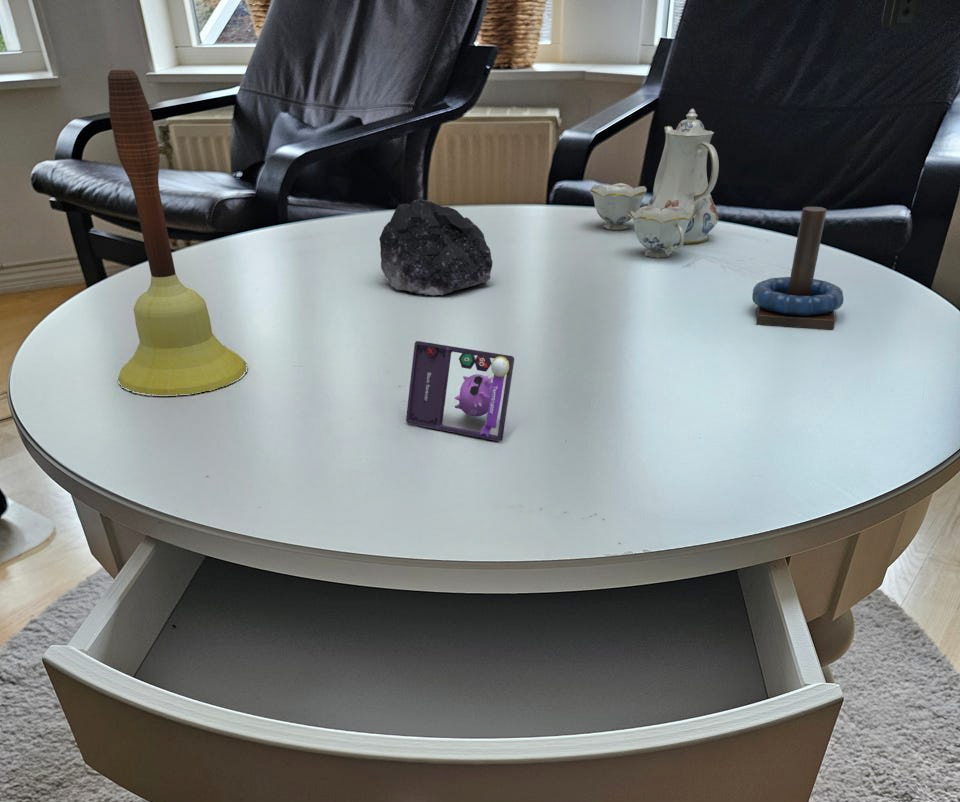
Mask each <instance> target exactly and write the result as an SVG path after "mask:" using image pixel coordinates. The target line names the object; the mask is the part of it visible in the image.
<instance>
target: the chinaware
mask: <svg viewBox="0 0 960 802" xmlns="http://www.w3.org/2000/svg"><path fill="white" fill-rule="evenodd" d="M685 117H686V119H683V120H681V121H680V122H679V123H678V125H677V126H676V129H673V127H672V126H671V125H667V126H664V133H665V141H664V147H663V151H662V154H661V157H660V160H659V164H658V168H657V171H656V174H655V179H654V184H653V189H652V190H653V191H652V196H651V198H650V199H649V201H648V203H647V204H646V205H644V206H641V205H642V202H643V199H644V198H645V196H646V194H647V191H648V188H647V187H646V186H645V185H641V186H640V185H639V186H637V187H633V186H631V185H630V184H627V183H623V182H619V183H613V184H612V185H610V186H604V185H602V184H594V185H593V186H592V187H591V189H590V190H589V193H590V194H591V195H592V198H593V202H594V203H593V204H594V207H595V210H596V213H597V215H598V216H599V217H600V218H601V219H602V221H604V222H606V223H607V224H604V225H603V228H605V229H607V230H620V231H622V230H625V229H628V228H629V225H626V223H627V222H629V221H631V220H632V222H633V229H634V233H635V236H636V238H637V240H638V242H639V243H640V244H641V246H643V247H644V248H646V249H647V250H646V251H645V254H644V255H645V257H651V258H657V259H659V258H666V257H667V258H668V257H670V256H671V254H672V251H674V252H679V251H680V250H682V248H683V245H694V244H700V243H703V242H706V241H707V240H708V238H709V237H708V234H709V233H710V232H711V231H712V230H713V229H714V228H715V227H716V225H717V224H718V222H719V218H720V217H719V213H718V210H717V207H716V204H715V202H714V199H713V198H712V195H711V192H712V191H713V190H714V188H715V186H716V185H717V180H718V177H719V170H720V169H719V168H720V167H719V166H720V164H719V161H720V160H719V156H718V152H717V150H716V148H715V147H714V145H713V144H711V140H712V137H713V135H714V134H715V131H712V130H707V129H705V126H704V124H703V122H702V121H701V120H700V119H697V117H698V114H697V113H696V110H695V109H694V108H690V110H689V111H688V113H687V114H686V115H685ZM708 154H709V155H710V160H711V174H710V178H709V182H708V175H707V172H708V171H707V162H708V161H707V160H708ZM677 245H678V247H677V248H676V247H675V246H677Z"/></svg>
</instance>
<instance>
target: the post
mask: <svg viewBox="0 0 960 802" xmlns="http://www.w3.org/2000/svg"><path fill="white" fill-rule="evenodd" d="M827 211H828V209H827V208H825V207H822V206H805V207H803V208H802V211H801V218H800V222H799V228H798V232H797V239H796V244H795V248H794V254H793V258H792V265H791V270H790V276H789V277H790V281H789V287H788V292H787V294H788V295H798V296H810V292H811V287H812V282H813V279H814V277H815V272H816V267H817V261H818V256H819V251H820V247H821V240H822V237H823V230H824V226H825V221H826V216H827ZM755 324H756V325H762V326H774V327H775V326H776V327H788V328H789V327H790V328H805V329H819V330H831V331H833V330H834V328H835V324H836V316H835V310H834V311H832V312H830V313H828V314H823V315H812V316H798V315H785V314H780V313H776V312H771V311H767V310H765V309H763V308H762V307H760V306H758V305H757V313H756V322H755Z"/></svg>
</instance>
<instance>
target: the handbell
mask: <svg viewBox="0 0 960 802" xmlns="http://www.w3.org/2000/svg"><path fill="white" fill-rule="evenodd" d="M107 87H108V110H109V111H108V112H109V121H110V124H111V130H112V134H113V140H114V144H115V148H116V153H117V157H118V160H119V162H120V164H121V166H122V169H123V170H124V173H125V175H126V176H127V178H128V181H129V183H130V185H131V189H132V193H133V196H134V201H135V207H136V211H137V215H138V220H139V225H140V229H141V234H142V239H143V243H144V249H145V253H146V257H147V258H146V259H147V262H148V267H149V272H150V285H149V287H148V289H147V291H145V292H143V293H141V294H140V295H139V296H138V297H137V299H136V301H135V304H134V307H133V314H134V320H135V327H136V331H137V337H138V341H139V343H138V346H137V348H136V350H135V352H134V354H133V356H132V357H131V358H129V360H128V361H127V362H126V363H125V364H124V366H123V367H121V369H120V372H119V375H118V378H117V381H118V380H119V382H120V384H121V385H122V387H124V388H127V389H129V390H131V391H134V392H139V393H145V394H151V395H152V394H154V395H155V394H156V395H176V394H177V395H180V394H192V393H197V392H198V393H199V392H204V391H209V390H213V389H217V388H219V387H222V386H226V385H228V384H230V383H231V382H233V381H235V380H237V379H239V378H240V377H241V376H242V375H243V374H244V372H246V367H247V366H246V364H247V362H246V360H245V359H244V358H242V357H241V355H240V354H238V353H237V352H235V351H233V350H231V349H230V348H228V347H227V346H225V345H223V343H221V341H219V339H218V338H217V337H216V336H215V334H214V333H213V330H212V329H213V328H212V324H211V323H212V322H211V318H210V314H209V310H208V307H207V303H206V301H205V299H204V297H202V296H201V295H200V294H199V293H198V292H197V291H196V290H194V289H192V288H189V287H186V286H185V285H184V284H183V283H182V282H181V281H180V279H179V277H178V275H177V273H176V268H175V264H174V258H173V254H172V247H171V243H170V238H169V231H168V229H167V228H168V227H167V222H166V218H165V213H164V207H163V202H162V198H161V193H160V184H159V173H160V161H161V160H160V159H161V158H160V149H159V143H158V138H157V135H156V134H157V133H156V129H155V125H154V119H153V114H152V111H151V109H150V105H149V103H148V101H147V98H146V96H145V92H144V90H143V88H142V85H141V82H140V79H139V76H138V74H137V73H136V71H134V70H133V69H112V70H110V71H108V75H107ZM226 387H227V386H226ZM217 390H218V389H217Z"/></svg>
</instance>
